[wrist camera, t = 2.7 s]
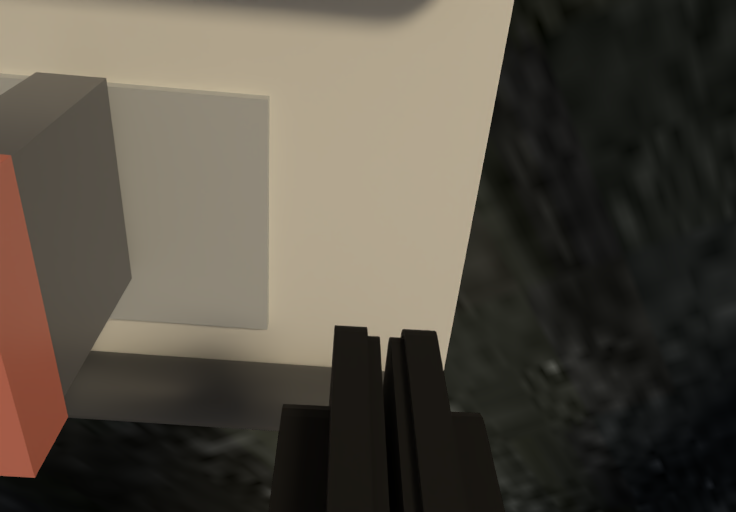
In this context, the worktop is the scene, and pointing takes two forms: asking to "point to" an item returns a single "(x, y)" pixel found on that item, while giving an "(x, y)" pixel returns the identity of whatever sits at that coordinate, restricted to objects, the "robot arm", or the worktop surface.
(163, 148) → the breaker box
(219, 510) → the worktop surface
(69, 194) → the breaker handle
